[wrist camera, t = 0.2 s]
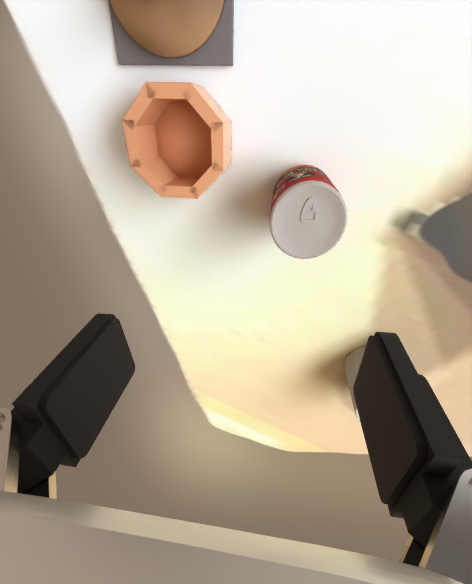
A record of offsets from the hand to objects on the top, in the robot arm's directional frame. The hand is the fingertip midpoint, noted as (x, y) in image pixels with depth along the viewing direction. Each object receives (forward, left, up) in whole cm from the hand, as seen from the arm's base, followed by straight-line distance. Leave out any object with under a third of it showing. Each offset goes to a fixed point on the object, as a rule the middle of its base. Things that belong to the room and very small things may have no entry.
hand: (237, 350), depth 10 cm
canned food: (+1, +4, -31) cm, 31 cm away
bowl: (-5, -11, -31) cm, 33 cm away
